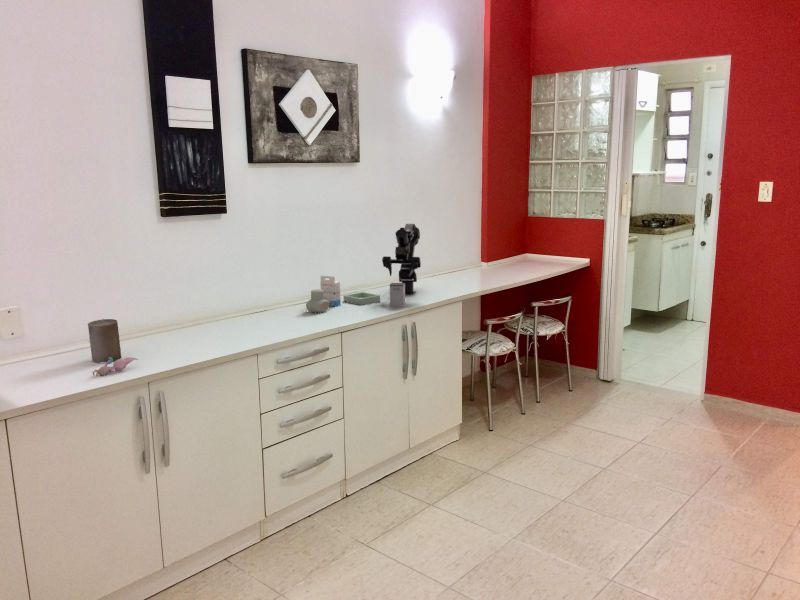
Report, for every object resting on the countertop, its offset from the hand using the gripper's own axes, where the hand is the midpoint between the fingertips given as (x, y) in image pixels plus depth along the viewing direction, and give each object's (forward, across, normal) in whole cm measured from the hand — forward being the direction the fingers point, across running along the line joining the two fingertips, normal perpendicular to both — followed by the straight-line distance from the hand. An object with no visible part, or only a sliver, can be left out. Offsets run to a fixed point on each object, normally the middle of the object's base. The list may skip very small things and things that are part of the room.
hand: (399, 275), depth 326 cm
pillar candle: (+87, -89, -68) cm, 141 cm away
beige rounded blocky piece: (+27, -35, -7) cm, 45 cm away
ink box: (+16, -33, +3) cm, 37 cm away
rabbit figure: (+96, -77, -76) cm, 145 cm away
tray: (+9, -20, +10) cm, 24 cm away
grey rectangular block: (+15, 0, +4) cm, 16 cm away
